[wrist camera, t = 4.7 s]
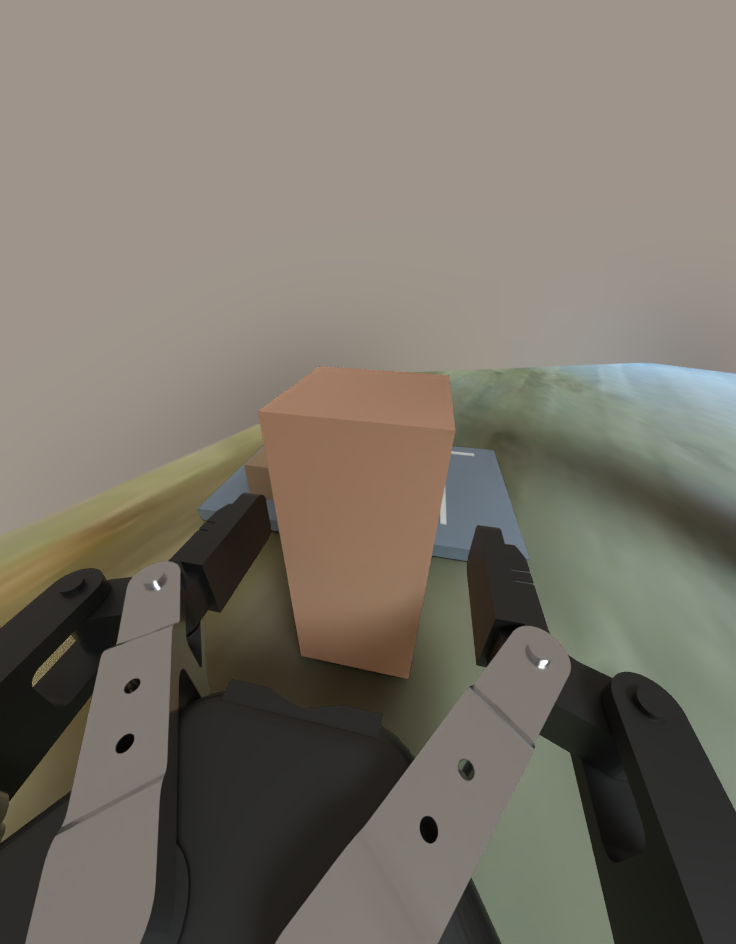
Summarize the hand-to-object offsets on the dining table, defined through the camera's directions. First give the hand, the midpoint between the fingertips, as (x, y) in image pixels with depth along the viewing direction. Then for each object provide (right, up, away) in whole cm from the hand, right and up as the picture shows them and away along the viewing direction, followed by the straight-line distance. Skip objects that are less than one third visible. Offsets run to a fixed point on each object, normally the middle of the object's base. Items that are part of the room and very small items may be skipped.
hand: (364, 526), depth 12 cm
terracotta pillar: (0, -5, +4) cm, 7 cm away
